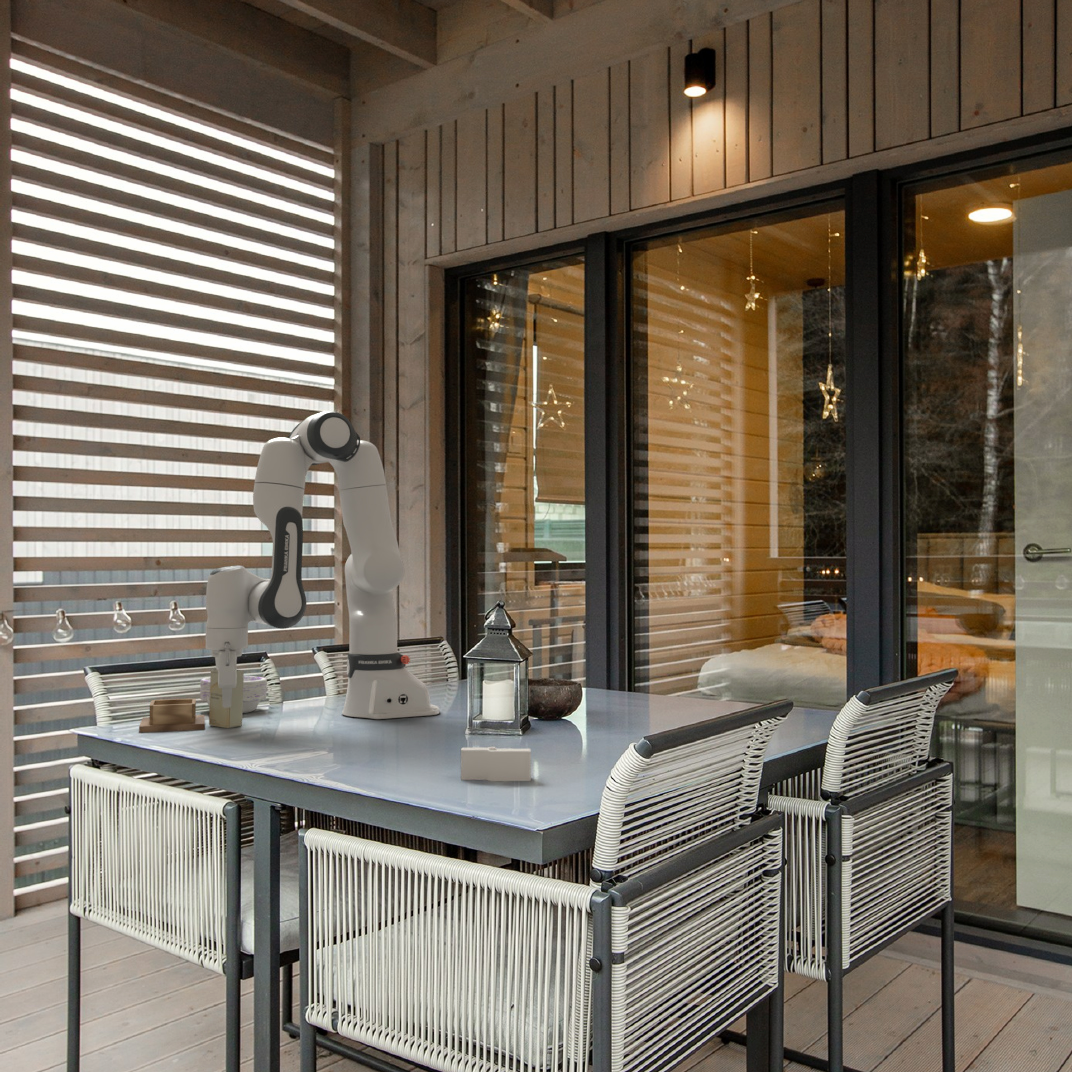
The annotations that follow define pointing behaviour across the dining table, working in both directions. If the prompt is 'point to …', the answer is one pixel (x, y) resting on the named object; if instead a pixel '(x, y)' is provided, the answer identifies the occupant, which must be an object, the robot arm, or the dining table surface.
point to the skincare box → (217, 711)
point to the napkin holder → (495, 764)
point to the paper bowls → (251, 691)
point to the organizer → (172, 716)
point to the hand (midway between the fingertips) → (226, 704)
